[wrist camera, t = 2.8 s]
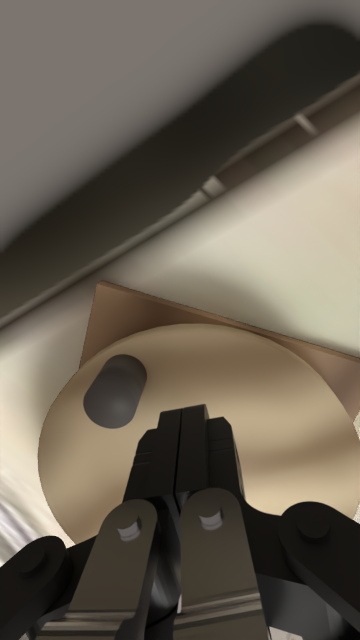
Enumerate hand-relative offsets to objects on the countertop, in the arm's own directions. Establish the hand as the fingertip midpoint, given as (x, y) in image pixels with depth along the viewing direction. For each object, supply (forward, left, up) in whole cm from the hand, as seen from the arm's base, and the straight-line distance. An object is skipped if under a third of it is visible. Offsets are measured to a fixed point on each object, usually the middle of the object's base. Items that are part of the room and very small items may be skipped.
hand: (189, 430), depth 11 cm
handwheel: (-2, +8, -8) cm, 12 cm away
